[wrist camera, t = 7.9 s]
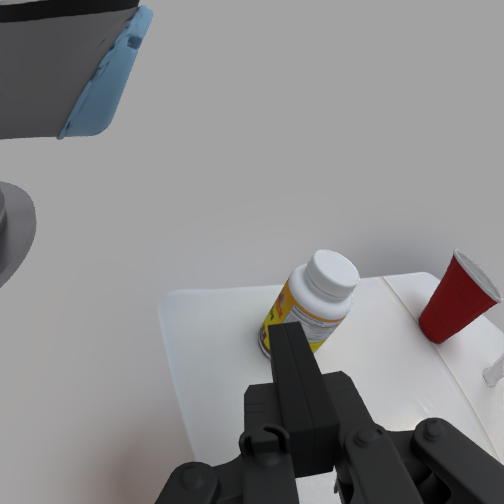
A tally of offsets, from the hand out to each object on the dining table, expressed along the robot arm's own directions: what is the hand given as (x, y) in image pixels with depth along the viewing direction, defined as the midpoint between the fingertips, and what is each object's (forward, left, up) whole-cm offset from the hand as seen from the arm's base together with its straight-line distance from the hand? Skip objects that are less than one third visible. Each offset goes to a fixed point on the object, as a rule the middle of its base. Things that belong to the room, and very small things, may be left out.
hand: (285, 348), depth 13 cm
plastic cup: (+34, +2, -11) cm, 35 cm away
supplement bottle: (+8, +6, -11) cm, 14 cm away
